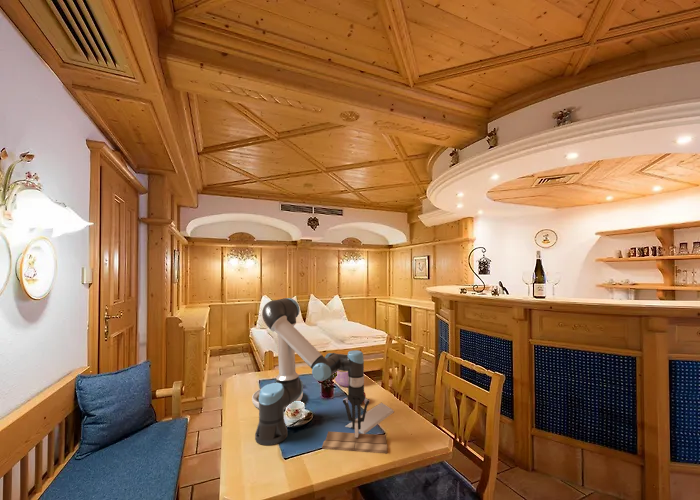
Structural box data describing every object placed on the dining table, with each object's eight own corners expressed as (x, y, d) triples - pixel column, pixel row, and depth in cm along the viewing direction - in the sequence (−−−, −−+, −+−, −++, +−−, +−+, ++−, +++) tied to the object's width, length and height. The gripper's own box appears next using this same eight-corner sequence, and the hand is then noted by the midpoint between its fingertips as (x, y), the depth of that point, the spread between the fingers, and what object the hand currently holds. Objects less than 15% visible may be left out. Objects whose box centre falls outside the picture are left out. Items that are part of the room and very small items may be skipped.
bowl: (240, 408, 182) (241, 395, 183) (271, 389, 210) (271, 377, 211) (285, 417, 171) (285, 402, 172) (311, 395, 199) (311, 383, 200)
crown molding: (364, 435, 153) (364, 427, 154) (344, 427, 161) (344, 420, 161) (393, 412, 177) (393, 406, 177) (375, 406, 184) (375, 400, 184)
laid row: (322, 448, 142) (322, 446, 142) (324, 442, 146) (324, 440, 146) (387, 453, 138) (387, 450, 138) (387, 447, 142) (387, 444, 142)
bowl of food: (366, 382, 221) (365, 365, 221) (351, 392, 203) (351, 374, 204) (342, 377, 231) (342, 361, 231) (326, 386, 214) (326, 369, 214)
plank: (325, 442, 147) (325, 439, 147) (328, 433, 153) (328, 431, 152) (386, 446, 143) (386, 443, 143) (386, 437, 149) (386, 435, 149)
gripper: (341, 387, 147) (341, 439, 145) (369, 388, 145) (369, 441, 144) (343, 381, 154) (344, 431, 153) (370, 382, 152) (371, 432, 151)
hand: (356, 435), depth 148 cm, fingers closed
